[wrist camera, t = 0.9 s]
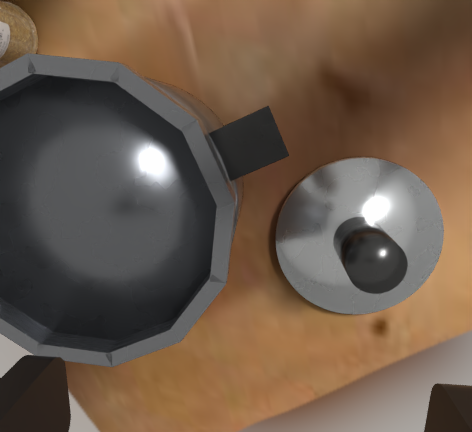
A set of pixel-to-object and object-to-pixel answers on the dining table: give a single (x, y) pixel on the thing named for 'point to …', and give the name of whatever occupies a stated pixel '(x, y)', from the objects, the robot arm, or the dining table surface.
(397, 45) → the dining table surface
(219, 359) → the dining table surface
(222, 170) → the pot
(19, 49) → the sprinkles bottle
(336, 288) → the lid
